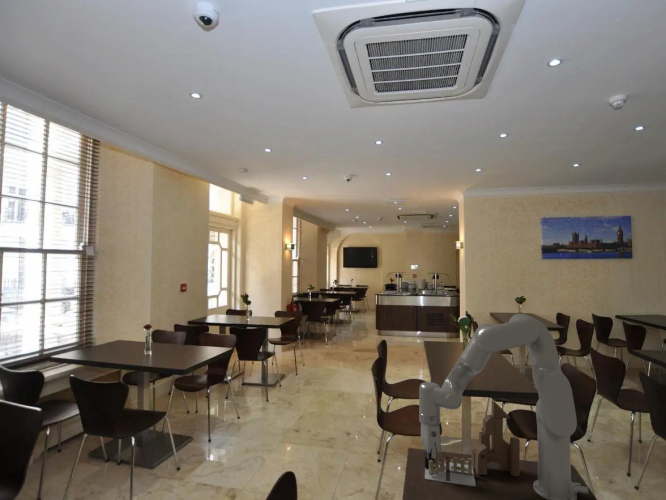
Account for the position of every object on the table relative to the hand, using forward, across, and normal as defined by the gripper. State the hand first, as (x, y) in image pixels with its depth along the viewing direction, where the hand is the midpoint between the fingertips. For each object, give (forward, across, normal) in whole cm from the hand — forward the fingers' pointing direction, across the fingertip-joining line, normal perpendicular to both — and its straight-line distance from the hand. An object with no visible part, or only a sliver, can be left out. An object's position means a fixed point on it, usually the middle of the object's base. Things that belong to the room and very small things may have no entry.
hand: (429, 468), depth 142 cm
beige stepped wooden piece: (+1, -2, -3) cm, 4 cm away
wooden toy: (+1, -1, -24) cm, 24 cm away
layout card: (+1, -1, -7) cm, 7 cm away
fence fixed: (+1, -2, -11) cm, 11 cm away
